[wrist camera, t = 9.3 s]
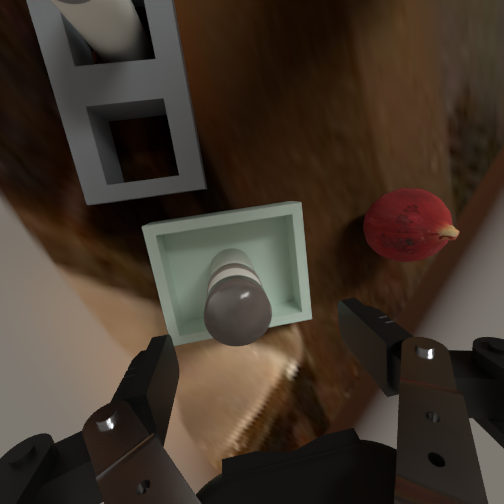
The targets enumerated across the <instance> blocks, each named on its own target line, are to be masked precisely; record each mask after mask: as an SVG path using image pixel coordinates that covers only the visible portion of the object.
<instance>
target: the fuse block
mask: <svg viewBox="0 0 504 504" xmlns="http://www.w3.org/2000/svg"><path fill="white" fill-rule="evenodd" d="M131 1H132V3H133V5H134V8H137V7H145V8H146V13H147V18H148V23H149V28H150V33H151V38H152V43H153V48H154V53H155V58H156V59H149V60H138V61H128V62H117V63H106V64H95V65H94V61H93V57H92V53H91V49H90V45H89V44H88V43H87V42H86V40H85V39H84V38H83V37H82V36H81V35H80V34H79V32H78V31H77V30H76V29H75V28H74V27H73V26H72V24H71V23H70V22H69V21H68V20H67V19H66V18H65V16H64V15H63V14H62V13H61V12H60V11H59V9H58V8H57V7H56V6H55V5H54V4H53V3H52V1H51V0H27V4H28V7H29V11H30V14H31V17H32V21H33V24H34V28H35V31H36V34H37V38H38V41H39V45H40V48H41V51H42V55H43V58H44V62H45V65H46V68H47V72H48V75H49V78H50V82H51V85H52V89H53V92H54V95H55V99H56V102H57V106H58V109H59V112H60V116H61V119H62V123H63V126H64V129H65V133H66V136H67V139H68V143H69V146H70V150H71V153H72V156H73V160H74V163H75V167H76V170H77V173H78V177H79V180H80V184H81V187H82V190H83V194H84V197H85V201H86V204H87V205H95V204H105V203H113V202H120V201H127V200H134V199H141V198H148V197H155V196H162V195H169V194H176V193H183V192H190V191H197V190H205V189H207V185H206V179H205V173H204V168H203V162H202V156H201V151H200V145H199V139H198V134H197V128H196V123H195V117H194V111H193V106H192V100H191V94H190V89H189V83H188V77H187V72H186V66H185V61H184V55H183V49H182V44H181V38H180V32H179V27H178V21H177V15H176V10H175V4H174V0H131ZM163 115H167V118H168V122H169V127H170V132H171V137H172V142H173V147H174V152H175V157H176V162H177V167H178V172H179V176H171V177H164V178H156V179H149V180H142V181H134V182H127V183H124V179H123V175H122V171H121V168H120V164H119V160H118V156H117V152H116V148H115V144H114V140H113V136H112V132H111V128H110V124H109V122H110V121H119V120H127V119H136V118H145V117H154V116H163Z"/></svg>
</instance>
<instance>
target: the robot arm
mask: <svg viewBox="0 0 504 504" xmlns="http://www.w3.org/2000/svg"><path fill="white" fill-rule="evenodd" d="M338 317H339V330H340V335H341V338H342V340H343V342H344V343H345V344H346V346H347V347H348V348H349V350H350V351H351V352H352V353H353V355H354V356H355V357H356V358H357V360H358V361H359V362H360V363H361V365H362V366H363V367H364V368H365V370H366V371H367V372H368V373H369V375H370V376H371V377H372V378H373V380H374V381H375V382H376V383H377V384H378V386H379V387H380V388H381V390H382V391H383V392H384V394H385V395H386V396H387V397H389V396H393V395H398V394H399V410H398V433H397V434H398V435H397V450H396V449H394V448H392V447H390V446H387V445H384V444H382V443H378V442H374V441H367V440H360V439H359V437H358V435H357V433H356V432H355V430H354V428H351V429H347V430H343V431H339V432H334V433H330V434H326V435H322V436H320V437H318V438H317V439H315V440H313V441H311V442H310V443H308V444H306V445H304V446H302V447H301V448H299V449H297V450H295V451H293V452H258V451H255V452H251V453H247V454H243V455H238V456H234V457H230V458H226V459H222V473H221V474H219V475H218V476H216V477H215V478H214V479H212V480H211V481H209V482H208V483H207V484H206V485H205V486H204V487H203V488H201V490H199V492H198V493H197V494H196V495H195V493H194V492H193V490H192V489H191V488H190V486H189V485H188V483H187V482H186V480H185V479H184V477H183V476H182V474H181V473H180V471H179V470H178V468H177V467H176V466H175V464H174V463H173V461H172V460H171V458H170V457H169V455H168V454H167V452H166V451H165V449H164V448H163V447H164V442H165V438H166V433H167V429H168V424H169V420H170V416H171V411H172V407H173V402H174V398H175V393H176V389H177V384H178V380H179V363H178V360H177V356H176V352H175V348H174V345H173V341H172V338H171V336H170V334H168V335H163V336H158V337H153V338H152V339H151V341H150V343H149V345H148V347H147V350H144V351H141V352H140V353H139V354H138V355H137V356H136V357H135V358H134V359H133V360H132V362H131V364H130V365H129V367H128V370H127V371H126V373H125V375H124V378H123V379H122V381H121V383H120V385H119V387H118V389H117V391H116V392H115V394H114V396H113V398H112V400H111V402H110V403H109V404H107V405H105V406H103V407H101V408H100V409H98V410H97V411H96V412H94V413H93V414H92V415H91V416H90V418H89V419H88V420H87V421H86V423H85V424H84V427H83V429H82V431H80V432H78V433H76V434H74V435H72V436H70V437H68V438H65V439H63V440H61V441H59V442H57V443H54V441H53V439H52V437H51V436H50V435H49V434H46V433H45V434H38V435H34V436H32V437H30V438H27V439H26V440H24V441H22V442H20V443H19V444H17V445H16V446H14V447H13V448H12V449H10V450H9V451H8V452H7V453H6V454H5V455H4V456H3V457H2V458H1V459H0V504H100V503H102V502H104V504H488V500H487V496H486V492H485V487H484V483H483V479H482V474H481V470H480V466H479V461H478V457H477V453H476V448H475V444H474V440H473V435H472V431H471V427H470V422H469V418H473V419H474V420H475V421H476V422H477V423H478V424H479V425H480V426H481V427H482V428H483V429H484V430H486V432H488V433H489V434H490V435H491V436H492V437H493V438H494V439H495V440H496V441H497V442H498V443H499V444H500V445H501V446H502V447H503V448H504V339H500V338H493V337H481V338H477V339H475V340H474V341H473V348H472V351H458V350H457V351H456V350H448V349H447V348H446V347H445V346H444V345H443V344H441V343H439V342H437V341H435V340H432V339H429V338H424V337H414V336H412V335H411V334H410V333H409V332H407V331H406V330H405V329H403V328H402V327H401V326H399V325H398V324H397V323H396V322H393V320H392V319H390V318H389V317H387V316H386V315H385V314H384V313H383V312H381V311H380V310H378V309H376V308H373V307H371V306H365V305H363V304H362V303H361V302H360V301H358V300H357V299H356V298H350V299H345V300H340V301H338Z"/></svg>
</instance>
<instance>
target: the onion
mask: <svg viewBox="0 0 504 504" xmlns="http://www.w3.org/2000/svg"><path fill="white" fill-rule="evenodd" d="M363 230H364V234H365V238H366V241H367V243H368V244H369V246H370V247H371V248H372V249H373V250H374V251H375V252H376V253H377V254H379V255H380V256H383V257H385V258H388V259H391V260H394V261H398V262H411V261H420V260H423V259H425V258H427V257H429V256H431V255H433V254H435V253H437V252H438V251H439V250H440V249H441V248H442V247H444V246H445V245H446V244H447V242H448V240H455V239H456V238H457V236H458V235H459V231H458V230H456V229H455V228H454V226H452V219H451V214H450V211H449V210H448V209H447V207H446V206H445V204H444V203H443V202H442V201H441V199H440V198H438V197H436V196H435V195H433V194H431V193H430V192H428V191H425V190H423V189H414V188H401V189H398V190H395V191H392V192H389V193H386V194H384V195H383V196H381V197H380V198H379V199H378V200H377V201H376V202H374V203H373V204H372V205H371V207H370V208H369V210H368V212H367V213H366V215H365V219H364V224H363Z"/></svg>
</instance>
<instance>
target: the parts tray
mask: <svg viewBox="0 0 504 504" xmlns="http://www.w3.org/2000/svg"><path fill="white" fill-rule="evenodd" d="M142 230H143V234H144V238H145V242H146V246H147V250H148V254H149V258H150V262H151V266H152V270H153V274H154V278H155V282H156V286H157V290H158V294H159V298H160V302H161V306H162V310H163V314H164V319H165V323H166V327H167V331H168V334H170V336H171V338H172V341H173V345H174V346H177V345H182V344H187V343H192V342H197V341H202V340H208V339H213V337H212V336H211V335H210V334H209V332H208V331H207V329H206V326H205V323H204V309H205V302H206V297H207V288H208V282H209V278H210V271H211V264H212V261H213V259H214V257H215V256H216V255H217V254H218V253H219V252H220V251H222V250H224V249H228V248H235V249H239V250H241V251H243V252H244V253H246V254H247V255H248V257H249V258H250V260H251V263H252V265H253V267H254V270H255V272H256V274H257V275H258V277H259V279H260V281H261V284H262V287H263V289H264V291H265V293H266V295H267V297H268V299H269V302H270V304H271V308H272V319H271V323H270V325H269V327H273V326H278V325H283V324H289V323H294V322H299V321H304V320H309V319H312V314H311V303H310V292H309V280H308V269H307V258H306V247H305V236H304V225H303V214H302V203H301V202H295V201H287V202H281V203H274V204H267V205H261V206H254V207H247V208H241V209H234V210H228V211H221V212H214V213H208V214H201V215H195V216H188V217H181V218H175V219H168V220H161V221H155V222H151V223H149V224H146V225H144V226H142Z"/></svg>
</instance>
